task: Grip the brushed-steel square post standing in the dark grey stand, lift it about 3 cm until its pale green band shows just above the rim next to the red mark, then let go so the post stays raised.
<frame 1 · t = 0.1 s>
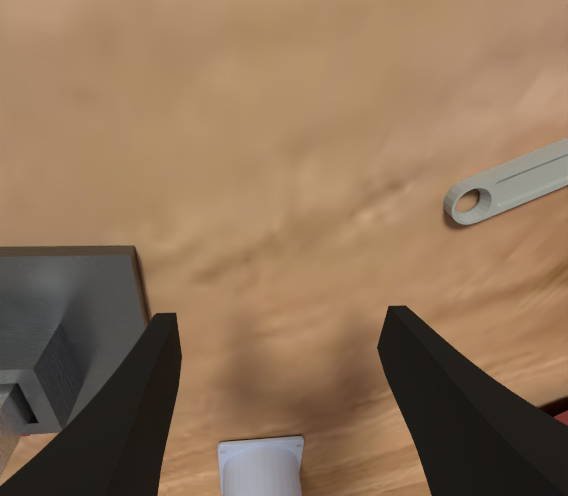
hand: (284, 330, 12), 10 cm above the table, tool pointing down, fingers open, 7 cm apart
stand: (30, 346, 24), on the table
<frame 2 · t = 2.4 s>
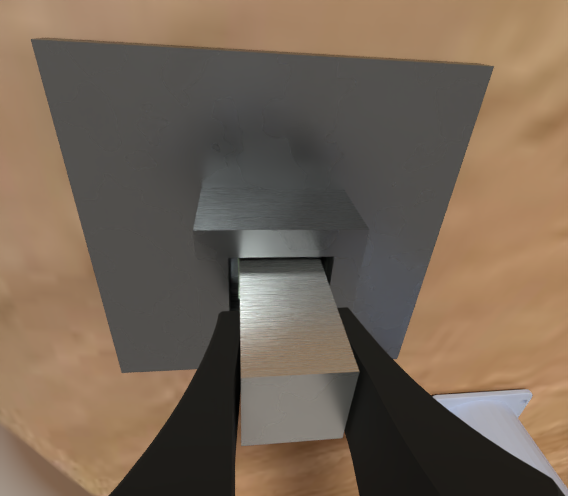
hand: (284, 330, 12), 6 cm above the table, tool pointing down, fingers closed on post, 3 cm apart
stand: (270, 238, 17), on the table
post: (281, 311, 13), point 5 cm above the table, slide at 0.0 cm, touching gripper
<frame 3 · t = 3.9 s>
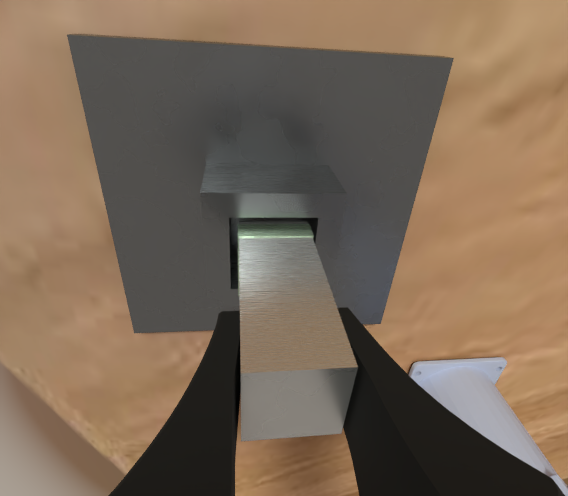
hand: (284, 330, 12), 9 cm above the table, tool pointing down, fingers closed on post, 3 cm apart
stand: (265, 210, 20), on the table
post: (280, 308, 13), point 8 cm above the table, slide at 2.8 cm, touching gripper
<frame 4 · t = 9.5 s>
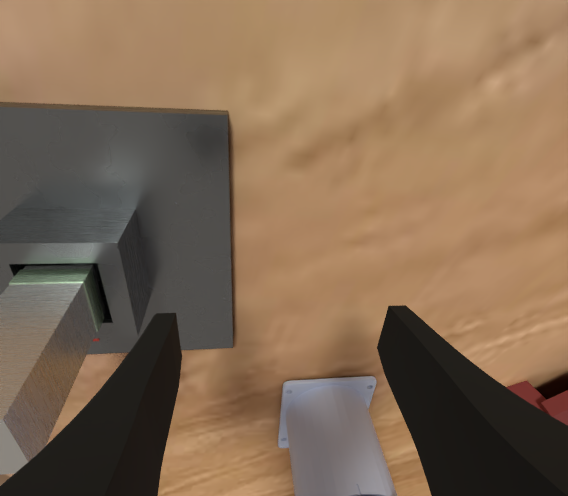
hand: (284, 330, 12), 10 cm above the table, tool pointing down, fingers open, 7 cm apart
stand: (94, 246, 21), on the table
post: (29, 351, 15), point 8 cm above the table, slide at 2.9 cm
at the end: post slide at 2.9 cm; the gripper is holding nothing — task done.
